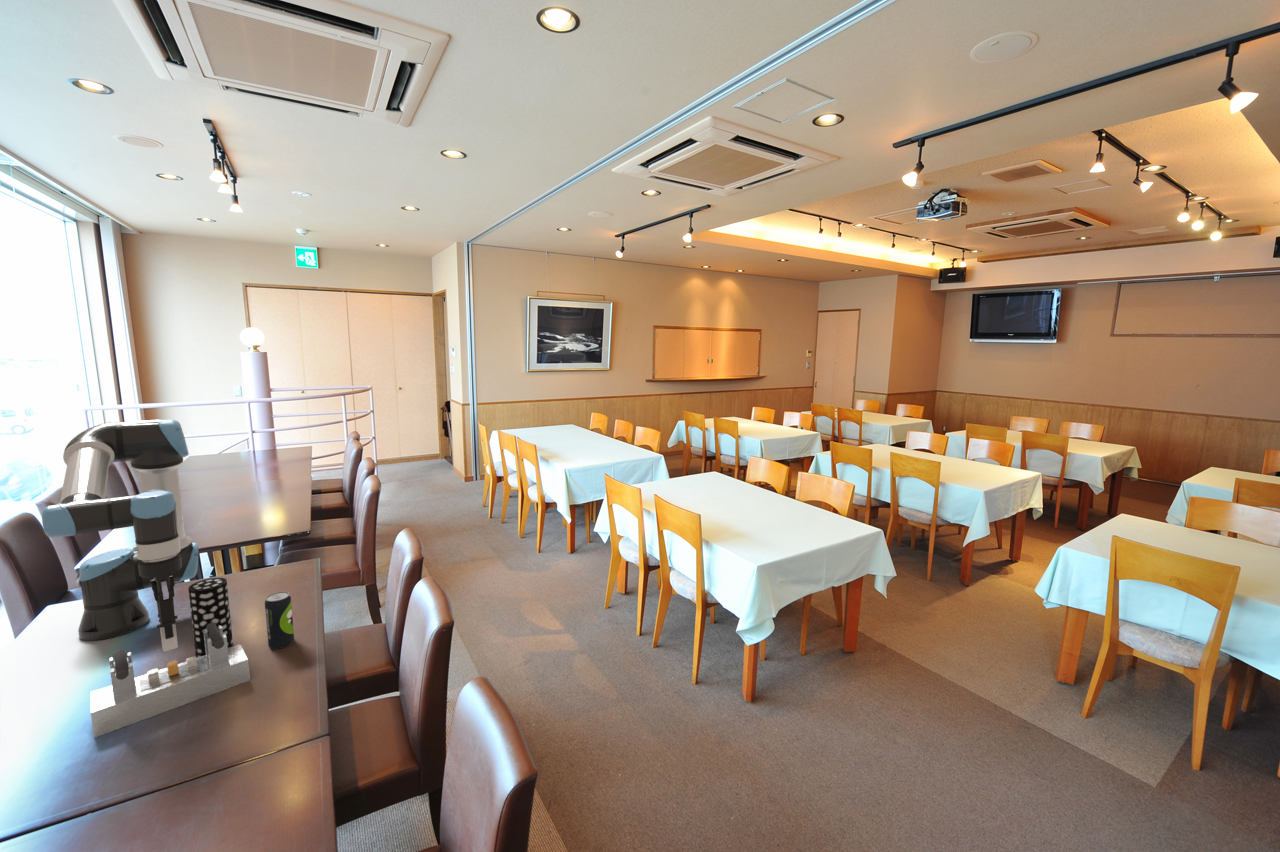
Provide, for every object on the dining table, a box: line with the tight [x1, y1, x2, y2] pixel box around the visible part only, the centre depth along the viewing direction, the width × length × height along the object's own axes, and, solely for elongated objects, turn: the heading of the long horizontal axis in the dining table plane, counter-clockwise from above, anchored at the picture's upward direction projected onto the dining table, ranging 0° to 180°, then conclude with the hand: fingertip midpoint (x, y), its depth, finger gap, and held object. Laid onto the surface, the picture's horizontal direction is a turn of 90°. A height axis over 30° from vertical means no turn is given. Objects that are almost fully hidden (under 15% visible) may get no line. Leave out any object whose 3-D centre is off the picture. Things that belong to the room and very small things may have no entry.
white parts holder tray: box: [89, 626, 251, 738], centre depth 126 cm, size 10×28×13 cm, turn 137°
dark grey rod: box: [206, 623, 224, 649], centre depth 131 cm, size 13×2×2 cm, turn 47°
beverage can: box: [264, 591, 295, 650], centre depth 149 cm, size 6×6×15 cm
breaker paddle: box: [166, 659, 179, 676], centre depth 126 cm, size 2×2×3 cm
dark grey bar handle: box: [113, 648, 129, 680], centre depth 119 cm, size 13×2×2 cm, turn 47°
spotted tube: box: [187, 577, 234, 658], centre depth 146 cm, size 8×8×20 cm
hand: (170, 648), depth 125 cm, fingers closed
